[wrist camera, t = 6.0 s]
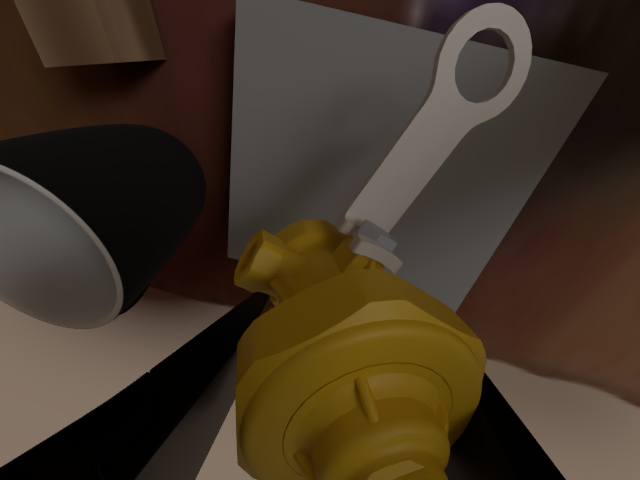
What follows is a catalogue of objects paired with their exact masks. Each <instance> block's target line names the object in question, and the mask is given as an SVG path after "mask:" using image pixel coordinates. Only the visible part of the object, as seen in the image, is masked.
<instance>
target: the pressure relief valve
mask: <svg viewBox="0 0 640 480" xmlns="http://www.w3.org/2000/svg"><path fill="white" fill-rule="evenodd" d="M483 29H487V30H494V31H496V32H497V33H498V34H499V35H501V36H502V37H503V39H504V41H505V43H506V45H507V47H508V55H509V63H508V68H507V73H506V75H505V77H504V79H503V81H502V83H501V85H500V87H499V88H498V89H497V90H496V91H495V92H494V94H493V95H492V96H490V97H489V98H487V99H485V100H484V101H482V102H477V103H473V102H470V101H466V99H465V98H464V97H463V96H462V95H461V94H460V93H459V91H458V88H457V86H456V83H455V66H456V63H457V59H458V56H459V53H460V51H461V50H462V48H463V46H464V45H465V43H466V42H467V40H468V39H470V38H471V37H472V36H473V35H474V34H475V33H477V32H478V31H481V30H483ZM531 55H532V41H531V36H530V30H529V28H528V26H527V24H526V22H525V20H524V18H523V16H522V15H521V14H520V13H519V12H518V11H516V10H515V9H514V8H513V7H511V6H508V5H505V4H502V3H490V4H484V5H481V6H479V7H477V8H474V9H472V10H470V11H468V12H466V13H465V14H463V15H462V16H461V17H460V18H459V19H458V20H456V21H455V22H454V23H453V24H452V26H451V27H450V28H449V30H448V31H447V33H446V34H445V36H444V37H443V38H442V41H441V43H440V46H439V48H438V50H437V53H436V55H435V61H434V66H433V72H432V78H431V84H430V87H429V89H428V92H427V94H426V96H425V98H424V99H423V101H422V103H421V104H420V106H419V107H418V108H417V110H416V111H415V113H414V114H413V115H412V117H411V118H410V120H409V121H408V122H407V124H406V125H405V126H404V128H403V129H402V131H401V132H400V133H399V135H398V136H397V138H396V139H395V140H394V142H393V143H392V145H391V146H390V147H389V149H388V150H387V152H386V153H385V154H384V156H383V157H382V159H381V160H380V161H379V163H378V164H377V165H376V167H375V168H374V170H373V171H372V172H371V174H370V175H369V177H368V178H367V179H366V181H365V182H364V184H363V185H362V186H361V188H360V189H359V191H358V192H357V193H356V195H355V196H354V198H353V199H352V200H351V202H350V203H349V204H348V206H347V207H346V209H345V210H344V211H343V213H342V214H341V216H340V217H339V218H338V220H337V222H336V226H335V225H333V224H331V223H329V222H328V221H326V220H319V219H309V220H302V221H298V222H295V223H292V224H290V225H288V226H287V227H285V228H284V229H282V230H281V231H280V232H279V233H277V234H276V235H275V236H274V235H272V234H271V233H269V232H267V231H265V230H260V231H259V232H257V233H256V234H255V235H254V236H253V237H252V239H251V240H250V241H249V243H248V244H247V246H246V248H245V249H244V251H243V253H242V255H241V257H240V259H239V262H238V264H237V267H236V270H235V273H234V284H235V285H237V286H239V287H241V288H244V289H246V290H248V291H250V292H253V293H255V292H262V293H266V294H269V295H270V300H271V301H272V302H273V304H274V305H275V307H274V308H272V309H270V310H269V311H267V312H266V313H264V314H263V315H261V316H260V317H258V318H257V319H255V320H254V321H253V322H252V324H251V325H250V326H249V327H248V329H247V330H246V331H245V332H244V334H243V335H242V337H241V339H240V340H239V342H238V344H237V363H236V385H235V395H236V436H237V457H238V458H237V459H238V465H239V466H240V467H241V468H242V469H243V470H245V471H246V472H247V473H248V474H249V475H250V476H251V477H253V478H254V479H257V480H448V478H447V476H446V474H445V472H444V470H445V468H446V466H447V464H448V460H449V455H450V447H451V446H452V445H453V444H454V443H455V442H456V440H457V439H458V438H459V437H460V436H461V435H462V433H463V432H464V430H465V429H466V427H467V425H468V423H469V422H470V420H471V418H472V416H473V414H474V412H475V410H476V408H477V406H478V404H479V401H480V397H481V391H482V380H483V376H484V372H485V366H486V361H487V360H486V354H485V350H484V347H483V344H482V341H481V340H480V339H479V338H478V337H477V336H476V334H475V333H474V332H473V331H472V330H471V329H470V328H469V327H468V326H467V325H466V324H465V323H464V322H463V321H462V320H461V319H460V318H459V317H458V315H457V314H456V313H455V312H454V311H453V310H452V309H451V308H450V307H448V306H447V305H445V304H443V303H442V302H440V301H439V300H437V299H436V298H434V297H432V296H431V295H429V294H428V293H426V292H424V291H423V290H421V289H419V288H417V287H416V286H414V285H412V284H411V283H409V282H407V281H405V280H403V279H401V278H399V277H397V276H396V275H395V274H396V272H397V271H398V270H399V269H400V267H401V266H402V265H403V263H402V262H401V261H400V259H399V258H398V257H397V256H396V255H395V254H394V253H393V252H392V251H393V249H394V248H395V247H396V246H397V241H396V240H395V239H394V238H393V237H392V236H391V235H390V234H388V233H389V232H390V230H391V229H392V228H393V227H394V225H395V224H396V223H397V221H398V220H399V219H400V218H401V216H402V215H403V214H404V212H405V211H406V210H407V209H408V207H409V206H410V205H411V203H412V202H413V201H414V200H415V198H416V197H417V196H418V194H419V193H420V192H421V191H422V189H423V188H424V187H425V185H426V184H427V183H428V182H429V180H430V179H431V178H432V176H433V175H434V174H435V173H436V171H437V170H438V169H439V167H440V166H441V165H442V164H443V162H444V161H445V160H446V158H447V157H448V156H449V155H450V153H451V152H452V151H453V149H454V148H455V147H456V146H457V144H458V143H459V142H460V140H461V139H462V138H463V137H464V136H465V134H466V133H467V132H468V131H469V130H471V129H472V128H473V127H475V126H476V125H478V124H480V123H482V122H485V121H487V120H489V119H491V118H493V117H495V116H497V115H498V114H500V113H501V112H502V111H503V110H505V109H506V108H507V107H508V106H509V105H510V104H511V103H512V101H513V100H514V99H515V98H516V96H517V95H518V94H519V92H520V90H521V88H522V86H523V84H524V82H525V80H526V78H527V75H528V71H529V67H530V64H531ZM385 266H386V267H387V268H388V269H390V270H391V271H392V272H393V273H394V274H392V273H390V272H388V271H385V270H383V269H384V268H385Z"/></svg>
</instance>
